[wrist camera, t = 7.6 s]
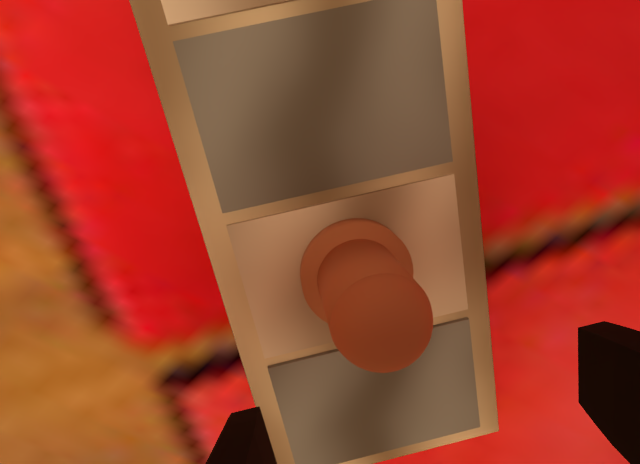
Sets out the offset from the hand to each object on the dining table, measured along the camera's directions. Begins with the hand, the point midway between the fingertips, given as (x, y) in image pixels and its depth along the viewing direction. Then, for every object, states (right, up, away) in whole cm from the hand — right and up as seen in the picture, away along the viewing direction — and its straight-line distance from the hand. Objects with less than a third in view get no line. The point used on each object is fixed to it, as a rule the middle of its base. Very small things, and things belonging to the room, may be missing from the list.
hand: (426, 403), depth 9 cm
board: (-2, +6, +8) cm, 10 cm away
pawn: (-1, +2, +7) cm, 8 cm away
